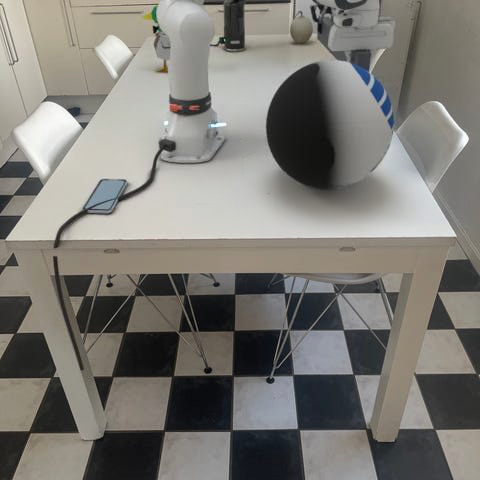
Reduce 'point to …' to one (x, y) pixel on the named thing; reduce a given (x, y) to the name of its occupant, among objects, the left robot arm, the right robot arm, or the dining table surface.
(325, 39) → the post
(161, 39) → the toy
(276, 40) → the dining table surface
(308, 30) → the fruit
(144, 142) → the dining table surface
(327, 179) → the black and white ball
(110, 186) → the smartphone
